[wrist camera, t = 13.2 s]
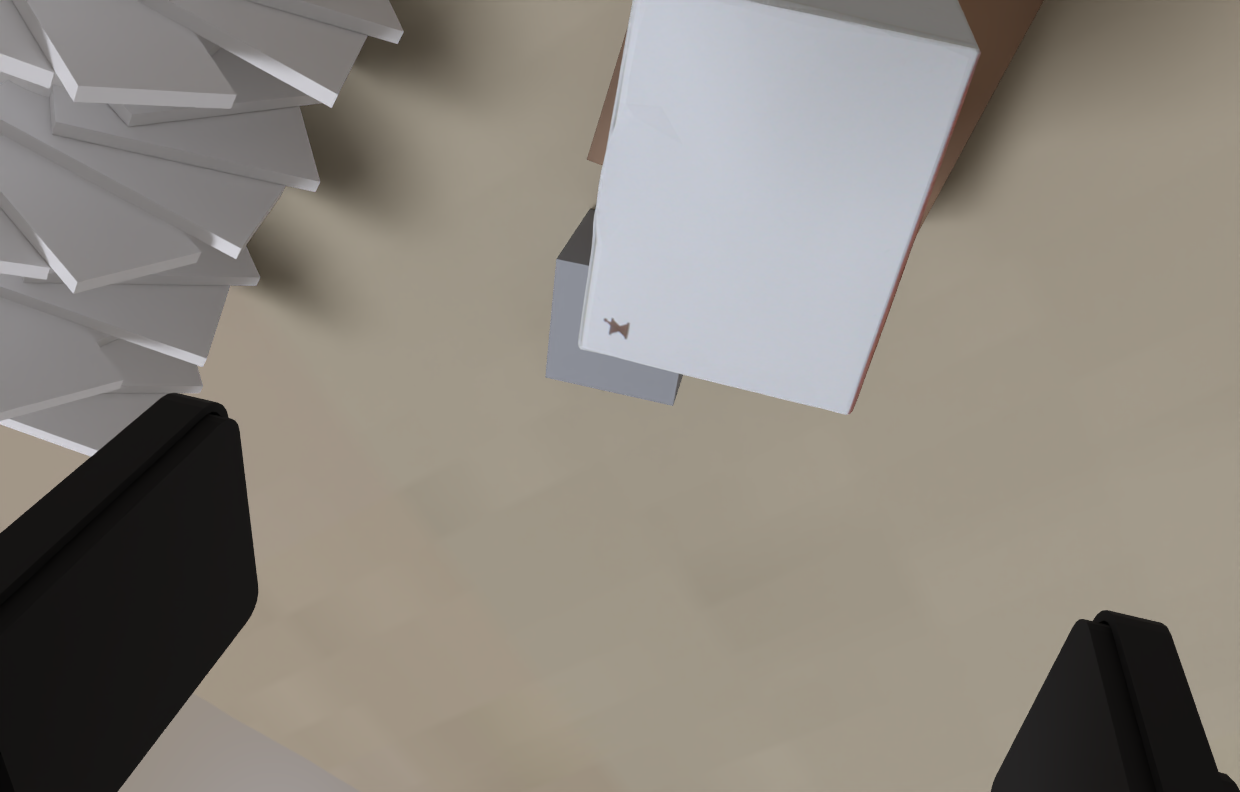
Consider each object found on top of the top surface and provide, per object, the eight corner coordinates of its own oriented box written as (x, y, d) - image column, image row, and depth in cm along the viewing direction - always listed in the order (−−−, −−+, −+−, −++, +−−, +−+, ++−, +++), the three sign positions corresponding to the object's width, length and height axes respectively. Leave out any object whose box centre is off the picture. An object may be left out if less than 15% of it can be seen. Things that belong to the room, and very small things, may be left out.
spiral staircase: (85, 154, 48) (258, -400, 33) (284, 434, 44) (577, -50, 29) (-454, 182, 33) (-566, -780, 19) (-223, 602, 29) (-140, -187, 15)
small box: (857, 207, 32) (851, 427, 21) (668, 162, 32) (567, 355, 22) (943, -62, 27) (989, 45, 17) (721, -108, 28) (628, -34, 17)
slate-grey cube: (713, 233, 38) (694, 287, 34) (693, 342, 41) (673, 405, 37) (590, 208, 39) (556, 258, 35) (578, 318, 42) (545, 377, 38)
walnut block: (1049, -82, 31) (1076, -61, 27) (890, 223, 37) (892, 279, 33) (723, -209, 31) (699, -207, 27) (618, 117, 37) (586, 159, 33)
